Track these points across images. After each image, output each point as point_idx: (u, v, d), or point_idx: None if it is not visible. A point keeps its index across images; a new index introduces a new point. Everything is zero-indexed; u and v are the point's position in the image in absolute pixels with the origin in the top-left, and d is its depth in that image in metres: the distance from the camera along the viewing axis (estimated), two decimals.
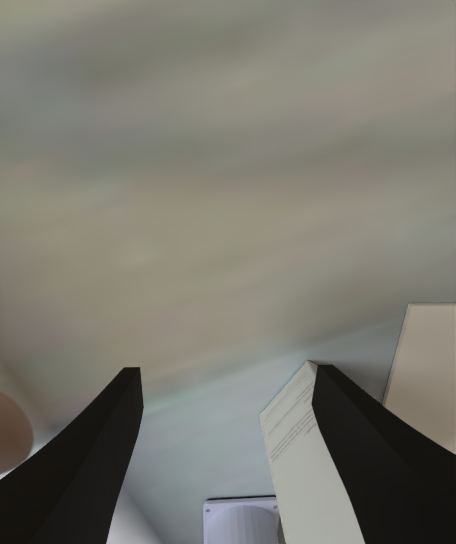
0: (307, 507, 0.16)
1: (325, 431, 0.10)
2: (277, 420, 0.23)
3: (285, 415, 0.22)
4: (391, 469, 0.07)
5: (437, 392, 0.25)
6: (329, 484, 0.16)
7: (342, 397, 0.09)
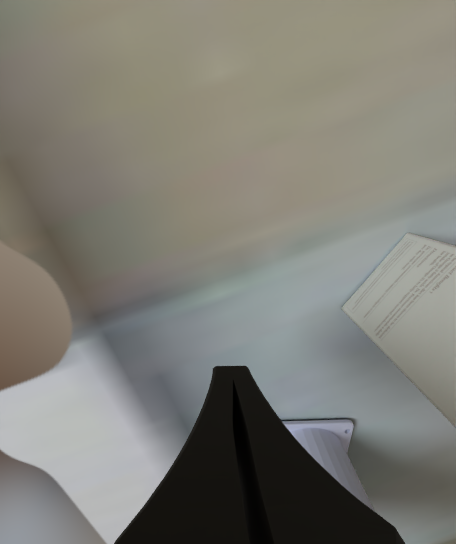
0: None
1: None
2: (376, 299, 0.18)
3: (388, 290, 0.18)
4: (252, 475, 0.07)
5: None
6: None
7: (237, 399, 0.09)
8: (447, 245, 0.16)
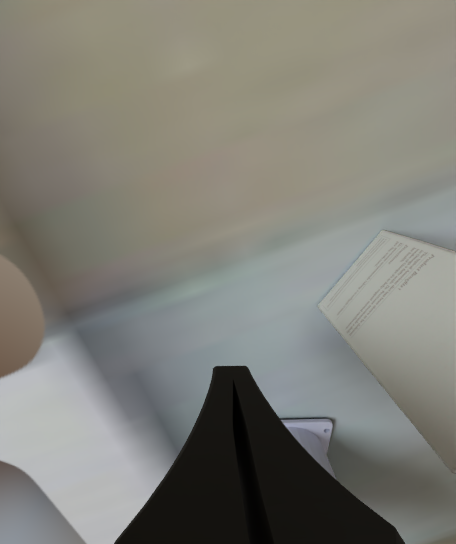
0: (426, 351, 0.12)
1: None
2: (349, 296, 0.18)
3: (360, 287, 0.18)
4: (252, 475, 0.07)
5: None
6: None
7: (237, 399, 0.09)
8: (417, 241, 0.16)
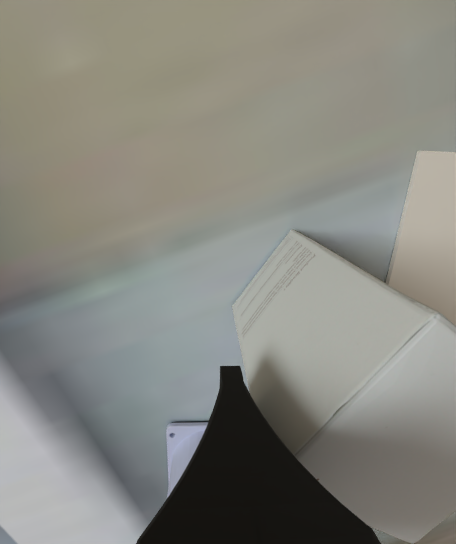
0: (283, 353, 0.12)
1: None
2: (252, 297, 0.18)
3: (261, 287, 0.17)
4: None
5: (449, 282, 0.21)
6: (314, 315, 0.11)
7: (225, 400, 0.09)
8: (309, 241, 0.16)
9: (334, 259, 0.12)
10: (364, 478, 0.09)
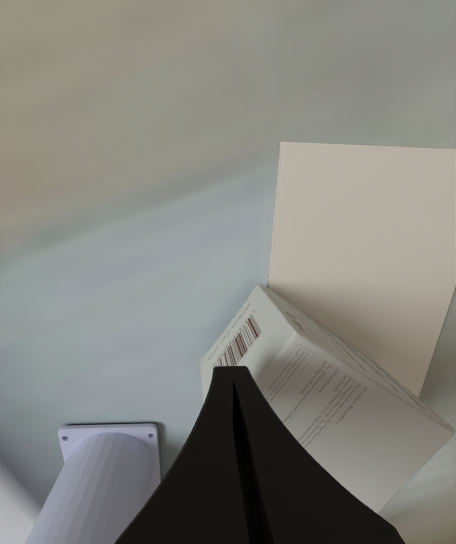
0: (362, 469, 0.15)
1: None
2: None
3: (285, 420, 0.14)
4: (252, 475, 0.07)
5: (334, 279, 0.20)
6: (387, 442, 0.15)
7: (237, 399, 0.09)
8: (348, 365, 0.13)
9: (393, 397, 0.14)
10: None
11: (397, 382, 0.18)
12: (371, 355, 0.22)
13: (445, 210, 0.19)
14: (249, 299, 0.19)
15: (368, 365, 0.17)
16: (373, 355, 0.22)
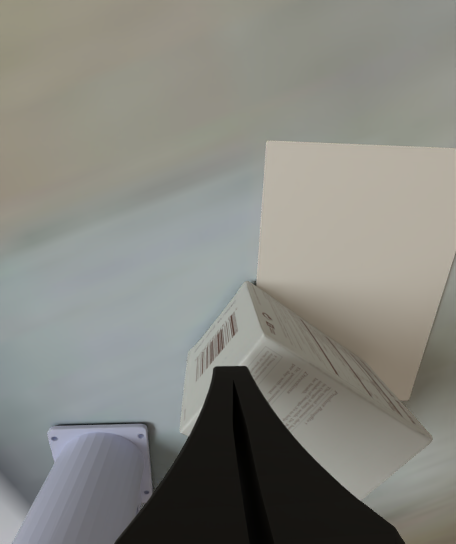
0: (333, 468, 0.16)
1: None
2: None
3: None
4: (252, 474, 0.07)
5: (322, 278, 0.20)
6: (358, 445, 0.15)
7: (237, 399, 0.09)
8: (318, 369, 0.14)
9: (365, 402, 0.14)
10: None
11: (381, 386, 0.18)
12: (361, 355, 0.22)
13: (433, 209, 0.19)
14: (235, 296, 0.19)
15: (348, 368, 0.17)
16: (362, 354, 0.22)
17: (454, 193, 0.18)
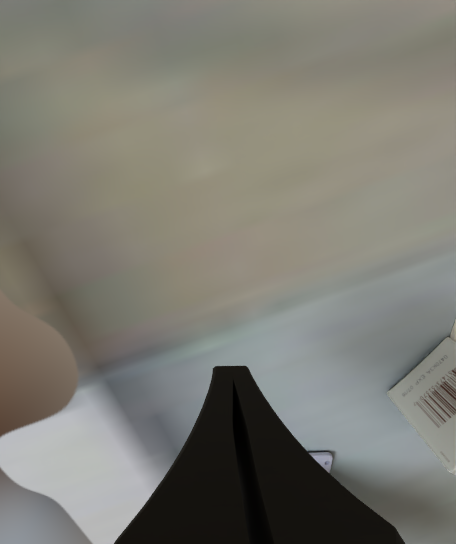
0: None
1: None
2: None
3: None
4: (252, 475, 0.07)
5: None
6: None
7: (237, 399, 0.09)
8: None
9: None
10: None
11: None
12: None
13: None
14: (442, 350, 0.23)
15: None
16: None
17: None
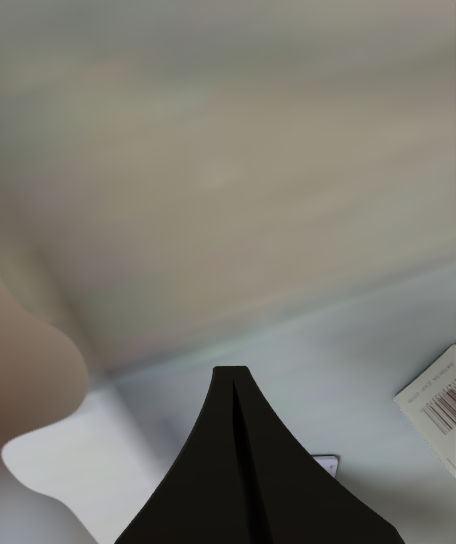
0: None
1: None
2: None
3: None
4: (252, 475, 0.07)
5: None
6: None
7: (237, 399, 0.09)
8: None
9: None
10: None
11: None
12: None
13: None
14: (448, 358, 0.23)
15: None
16: None
17: None
